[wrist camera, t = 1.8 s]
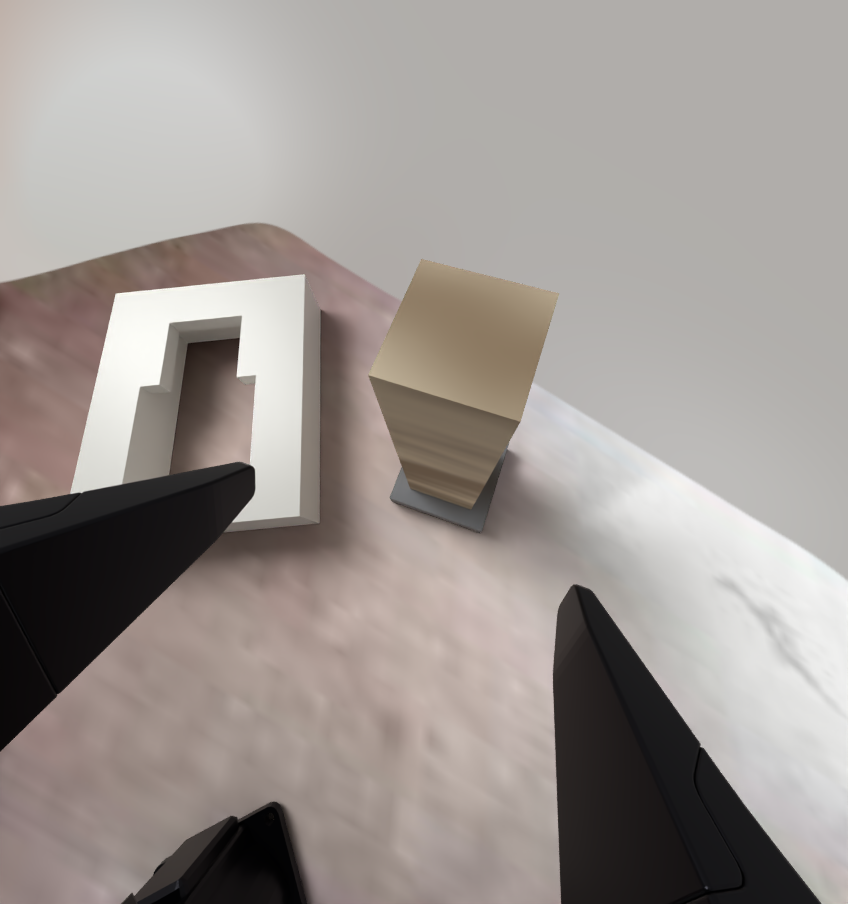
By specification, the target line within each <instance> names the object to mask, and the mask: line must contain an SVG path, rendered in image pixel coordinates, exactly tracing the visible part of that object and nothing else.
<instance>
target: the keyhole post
mask: <svg viewBox="0 0 848 904" xmlns="http://www.w3.org/2000/svg"><path fill="white" fill-rule="evenodd" d="M558 295H559V293H555V292H551V291H546V290H543V289H539V288H535V287H531V286H527V285H523V284H519V283H515V282H511V281H507V280H503V279H499V278H495V277H490V276H486V275H483V274H479V273H475V272H471V271H467V270H463V269H458V268H455V267H451V266H447V265H443V264H438V263H435V262H431V261H427V260H423V259H421V261H420V264H419V266H418V268H417V270H416V272H415V274H414V277H413V279H412V281H411V283H410V285H409V287H408V290H407V292H406V294H405V296H404V298H403V301H402V303H401V305H400V307H399V309H398V311H397V314H396V316H395V318H394V320H393V322H392V324H391V327H390V329H389V331H388V333H387V335H386V338H385V340H384V342H383V344H382V346H381V348H380V351H379V353H378V355H377V357H376V359H375V361H374V364H373V366H372V368H371V370H370V372H369V375H368V376H369V378H370V381H371V384H372V387H373V389H374V392H375V395H376V397H377V400H378V403H379V406H380V408H381V411H382V414H383V416H384V419H385V422H386V425H387V427H388V430H389V433H390V435H391V438H392V441H393V443H394V446H395V449H396V452H397V454H398V457H399V460H400V462H401V465H402V468H401V470H400V473H399V475H398V478H397V481H396V483H395V486H394V488H393V491H392V493H391V496H390V499H391V501H392V502H395V503H398V504H400V505H403V506H406V507H409V508H412V509H414V510H417V511H420V512H423V513H425V514H428V515H431V516H434V517H437V518H439V519H442V520H445V521H448V522H451V523H453V524H456V525H459V526H462V527H465V528H467V529H470V530H473V531H476V532H478V533H480V532H482V529H483V526H484V523H485V520H486V516H487V513H488V510H489V507H490V503H491V500H492V497H493V494H494V490H495V487H496V484H497V480H498V477H499V474H500V471H501V467H502V464H503V461H504V458H505V454H506V451H507V448H508V445H509V441H510V439H511V437H512V436H513V434H514V432H515V430H516V429H517V427H518V425H519V423H520V421H521V418H522V414H523V411H524V408H525V405H526V401H527V398H528V395H529V391H530V388H531V385H532V381H533V378H534V375H535V371H536V368H537V365H538V362H539V358H540V355H541V352H542V348H543V345H544V341H545V338H546V335H547V332H548V329H549V325H550V322H551V319H552V315H553V312H554V309H555V305H556V302H557V299H558Z"/></svg>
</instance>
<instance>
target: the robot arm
mask: <svg viewBox="0 0 848 904" xmlns="http://www.w3.org/2000/svg"><path fill="white" fill-rule="evenodd" d="M255 489H256V486H255V469H254V467H253V466H251V465H249V464H246V463H243V462H235V463H230V464H225V465H220V466H214V467H209V468H204V469H199V470H193V471H188V472H183V473H178V474H173V475H167V476H162V477H157V478H152V479H147V480H141V481H136V482H131V483H126V484H120V485H115V486H110V487H105V488H100V489H94V490H89V491H84V492H82V493H80V492H78V493H73V494H68V495H63V496H58V497H52V498H46V499H41V500H35V501H30V502H24V503H17V504H11V505H4V506H0V751H1V750H2V749H3V748H4V747H5V746H6V745H8V744H9V743H10V742H11V741H12V740H13V739H14V738H15V737H16V736H17V735H18V734H19V733H20V732H21V731H22V730H23V729H24V728H25V727H26V726H27V725H28V724H29V723H30V722H31V721H32V720H33V719H34V718H35V717H36V716H37V715H38V714H39V713H40V712H41V711H42V710H43V709H44V708H45V707H46V706H48V705H49V704H50V703H51V702H52V701H53V700H54V699H55V698H56V697H57V694H59V693H61V692H62V691H63V690H64V689H65V688H66V687H67V686H68V685H69V684H70V683H71V682H72V681H73V680H74V679H75V678H76V677H77V676H78V675H79V674H80V673H81V672H82V671H83V670H84V669H85V668H86V667H87V666H88V665H89V664H90V663H91V662H92V661H93V660H94V659H95V658H96V657H97V656H98V655H99V654H100V653H101V652H103V651H104V650H105V649H106V648H107V647H108V646H109V645H110V644H111V643H112V642H113V641H114V640H115V639H116V638H117V637H118V636H119V635H120V634H121V633H122V632H123V631H124V630H125V629H126V628H127V627H128V626H129V625H130V624H131V623H132V622H133V621H134V620H135V619H136V618H137V617H138V616H139V615H140V614H141V613H142V612H144V611H145V610H146V609H147V608H148V607H149V606H150V605H151V604H152V603H153V602H154V601H155V600H156V599H157V598H158V597H159V596H160V595H161V594H162V593H163V592H164V591H165V590H166V589H167V588H168V587H169V586H170V585H171V584H172V583H173V582H174V581H175V580H176V579H177V578H178V577H179V576H180V575H181V574H182V573H183V572H185V571H186V570H187V569H188V568H189V567H190V566H191V565H192V564H193V563H194V562H195V561H196V560H197V559H198V558H199V557H200V556H201V555H202V554H203V553H204V552H205V551H206V550H207V549H208V548H209V547H210V546H211V545H212V544H213V543H214V542H215V541H216V540H217V539H218V538H219V537H220V536H221V535H222V533H223V532H224V531H225V530H226V529H227V528H228V526H229V525H230V524H231V523H232V522H233V520H234V519H235V518H236V517H237V516H238V514H239V513H240V512H241V511H242V510H243V508H244V507H245V506H246V505H247V504H248V503H249V501H250V500H251V499H252V498H253V496H254V494H255ZM553 696H554V723H555V750H556V777H557V805H558V832H559V859H560V886H561V904H821V902H820V901H819V900H818V899H817V897H816V896H815V895H814V894H813V892H812V891H811V890H810V888H809V887H808V886H807V885H806V883H805V882H804V881H803V880H802V878H801V877H800V876H799V874H798V873H797V872H796V871H795V869H794V868H793V867H792V866H791V864H790V863H789V862H788V861H787V859H786V858H785V857H784V855H783V854H782V853H781V852H780V850H779V849H778V848H777V846H776V845H775V844H774V843H773V841H772V840H771V839H770V837H769V836H768V835H767V833H766V832H765V831H764V830H763V828H762V827H761V826H760V824H759V823H758V822H757V820H756V819H755V818H754V817H753V815H752V814H751V813H750V811H749V810H748V809H747V807H746V806H745V805H744V803H743V802H742V801H741V799H740V798H739V796H738V795H737V794H736V792H735V791H734V790H733V788H732V787H731V785H730V784H729V783H728V781H727V780H726V779H725V777H724V776H723V775H722V773H721V772H720V770H719V769H718V768H717V766H716V765H715V763H714V762H713V761H712V759H711V758H710V756H709V755H708V753H707V752H706V751H705V749H704V748H702V747H700V742H699V741H698V740H697V738H696V737H695V735H694V734H693V733H692V731H691V730H690V728H689V727H688V725H687V724H686V723H685V721H684V720H683V718H682V717H681V716H680V714H679V713H678V711H677V710H676V709H675V707H674V706H673V704H672V703H671V701H670V700H669V699H668V697H667V696H666V694H665V693H664V692H663V690H662V689H661V687H660V686H659V685H658V683H657V682H656V680H655V679H654V677H653V676H652V675H651V673H650V672H649V670H648V669H647V668H646V666H645V665H644V663H643V662H642V661H641V659H640V658H639V656H638V655H637V653H636V652H635V651H634V649H633V648H632V646H631V645H630V644H629V642H628V641H627V639H626V638H625V637H624V635H623V634H622V632H621V631H620V629H619V628H618V627H617V625H616V624H615V622H614V621H613V620H612V618H611V617H610V615H609V614H608V613H607V611H606V610H605V608H604V607H603V606H602V604H601V603H600V601H599V600H598V598H597V597H596V596H595V594H594V593H593V592H592V591H591V590H590V589H588V588H585V587H583V586H580V585H577V584H575V585H573V586H571V588H570V589H569V591H568V593H567V594H566V596H565V597H564V599H563V601H562V602H561V604H560V606H559V609H558V613H557V626H556V639H555V652H554V665H553ZM268 813H272V814H273V815H274V820H270V819H269V817H268ZM121 904H307V902H306V899H305V895H304V891H303V887H302V883H301V880H300V876H299V872H298V868H297V864H296V861H295V857H294V853H293V849H292V845H291V842H290V838H289V834H288V830H287V826H286V823H285V819H284V815H283V811H282V808H281V806H280V804H278V803H277V802H270V803H268V804H266V805H265V806H263V807H261V808H259V809H257V810H255V811H253V812H252V813H250V814H248V815H246V816H244V817H242V818H240V819H239V820H238V819H237V817H234V816H230V817H228V818H226V819H224V820H222V821H221V822H219V823H217V824H215V825H213V826H211V827H209V828H208V829H206V830H204V831H202V832H200V833H198V834H196V835H195V836H193V837H191V838H189V839H187V840H186V841H185V842H184V843H183V844H182V845H181V846H180V847H179V848H178V849H177V850H176V852H175V853H174V854H173V855H172V856H170V857H168V858H166V859H165V860H164V861H163V862H162V863H161V864H160V865H159V866H158V867H157V868H156V870H155V872H154V874H153V876H152V877H151V879H150V880H149V881H148V882H147V883H146V884H145V885H144V886H143V887H142V888H141V889H140V890H139V892H138V893H137V894H136V895H135V896H134V895H133V893H131V894H130V895H129V896H128V897H127V898H126V899H125V900H124V901H123V902H122V903H121Z"/></svg>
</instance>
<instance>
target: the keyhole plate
mask: <svg viewBox="0 0 848 904" xmlns="http://www.w3.org/2000/svg"><path fill="white" fill-rule="evenodd" d="M320 336H321V309H320V306H319V304H318V302H317V300H316V298H315V296H314V293H313V291H312V289H311V287H310V285H309V282H308V280H307V278H306V276H305V274H303V275H294V276H284V277H274V278H264V279H255V280H245V281H235V282H225V283H215V284H206V285H196V286H186V287H176V288H167V289H157V290H147V291H137V292H128V293H118V294H116V296H115V300H114V305H113V309H112V313H111V318H110V322H109V327H108V331H107V335H106V340H105V344H104V349H103V353H102V357H101V362H100V366H99V370H98V375H97V379H96V384H95V388H94V392H93V397H92V401H91V405H90V410H89V414H88V419H87V423H86V427H85V432H84V436H83V440H82V445H81V449H80V454H79V458H78V462H77V467H76V471H75V476H74V480H73V484H72V489H71V493H70V494H73V493H78V492H80V493H82V492H84V491H89V490H94V489H100V488H105V487H110V486H115V485H120V484H126V483H131V482H136V481H141V480H147V479H152V478H157V477H162V476H167V475H169V472H170V465H171V458H172V451H173V444H174V437H175V430H176V423H177V416H178V409H179V402H180V395H181V388H182V381H183V374H184V366H185V359H186V352H187V345H188V343H195V342H204V341H214V340H224V339H234V338H240V345H239V356H238V367H237V378H238V379H239V380H240V381H241V382H243V383H244V384H245V385H246V384H255V398H254V412H253V427H252V441H251V456H250V465H251V466H253V467H254V469H255V486H256V489H255V494H254V496H253V498H252V499H251V500H250V501H249V503H248V504H247V505H246V506H245V507H244V508H243V510H242V511H241V512H240V513H239V514H238V516H237V517H236V518H235V519H234V520H233V522H232V523H231V524H230V525H229V526H228V528H227V529H226V530H225V531H224V532H235V531H245V530H256V529H266V528H277V527H287V526H298V525H308V524H319V523H320ZM224 532H223V533H224Z"/></svg>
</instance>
